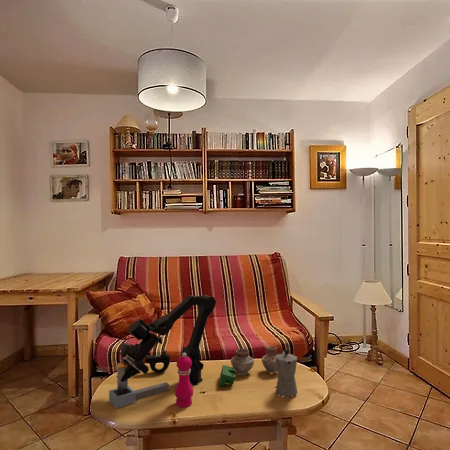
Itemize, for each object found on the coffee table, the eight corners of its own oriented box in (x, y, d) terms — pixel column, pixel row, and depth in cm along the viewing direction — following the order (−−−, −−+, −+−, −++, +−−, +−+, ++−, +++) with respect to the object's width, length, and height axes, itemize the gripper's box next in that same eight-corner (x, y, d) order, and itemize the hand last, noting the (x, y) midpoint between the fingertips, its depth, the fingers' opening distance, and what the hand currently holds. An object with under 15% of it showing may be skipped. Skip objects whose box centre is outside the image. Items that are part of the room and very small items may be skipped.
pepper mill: (176, 399, 143) (176, 349, 144) (194, 399, 143) (194, 349, 144) (173, 408, 136) (173, 355, 137) (192, 408, 136) (192, 356, 136)
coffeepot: (301, 400, 143) (301, 355, 143) (278, 400, 142) (278, 355, 143) (292, 384, 158) (292, 343, 159) (271, 384, 158) (271, 343, 158)
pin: (128, 394, 144) (128, 362, 144) (126, 398, 140) (126, 365, 140) (118, 394, 143) (119, 362, 144) (116, 399, 139) (116, 365, 140)
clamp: (230, 395, 156) (235, 380, 153) (217, 392, 156) (221, 377, 153) (232, 375, 167) (237, 360, 164) (220, 372, 167) (224, 357, 164)
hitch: (163, 385, 156) (163, 376, 156) (171, 392, 150) (171, 382, 150) (109, 400, 142) (109, 390, 142) (115, 408, 136) (115, 397, 136)
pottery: (284, 376, 167) (284, 350, 167) (232, 378, 165) (232, 352, 165) (278, 367, 178) (278, 343, 178) (229, 369, 176) (229, 344, 176)
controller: (170, 373, 170) (170, 352, 171) (144, 375, 168) (144, 354, 168) (170, 369, 175) (170, 349, 175) (144, 371, 172) (144, 351, 172)
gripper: (124, 330, 152) (97, 361, 145) (141, 340, 137) (112, 376, 130) (141, 345, 156) (116, 376, 150) (159, 356, 141) (133, 392, 135)
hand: (119, 379), depth 141 cm, fingers closed on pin, 4 cm apart
